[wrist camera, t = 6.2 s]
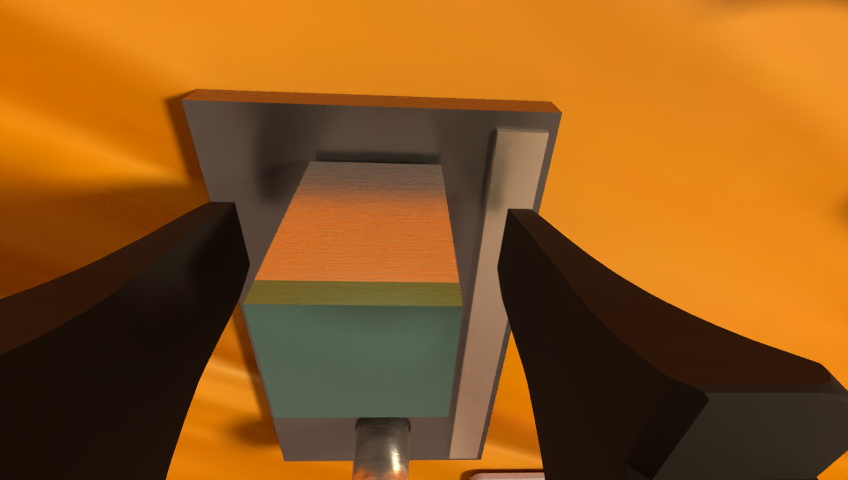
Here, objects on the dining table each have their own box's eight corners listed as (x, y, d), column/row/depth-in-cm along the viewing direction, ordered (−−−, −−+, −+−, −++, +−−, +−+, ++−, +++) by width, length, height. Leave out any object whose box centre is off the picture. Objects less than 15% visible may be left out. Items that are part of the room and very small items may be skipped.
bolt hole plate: (478, 440, 22) (481, 463, 21) (289, 441, 22) (283, 465, 21) (551, 101, 12) (564, 115, 11) (197, 89, 12) (177, 102, 11)
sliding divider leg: (434, 256, 13) (448, 417, 9) (321, 254, 13) (274, 417, 9) (440, 164, 12) (462, 305, 7) (310, 161, 11) (243, 303, 7)
